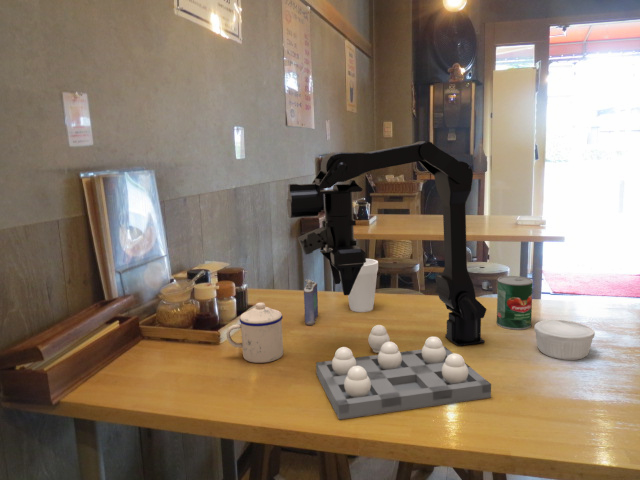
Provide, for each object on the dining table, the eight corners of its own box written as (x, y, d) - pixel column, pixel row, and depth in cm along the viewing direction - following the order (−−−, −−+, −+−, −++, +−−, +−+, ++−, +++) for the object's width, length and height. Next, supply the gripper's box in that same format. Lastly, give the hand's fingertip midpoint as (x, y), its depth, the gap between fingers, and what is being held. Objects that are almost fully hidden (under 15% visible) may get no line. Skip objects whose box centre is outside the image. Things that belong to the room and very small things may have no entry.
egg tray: (316, 374, 102) (315, 341, 101) (444, 358, 108) (445, 327, 106) (339, 419, 85) (337, 380, 84) (490, 397, 90) (491, 360, 89)
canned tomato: (519, 332, 121) (521, 286, 119) (489, 324, 127) (490, 280, 125) (537, 324, 125) (539, 279, 124) (508, 316, 132) (509, 274, 130)
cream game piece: (385, 345, 116) (385, 320, 115) (392, 353, 111) (392, 327, 110) (365, 347, 115) (365, 323, 114) (372, 355, 110) (371, 329, 109)
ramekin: (600, 350, 109) (601, 325, 108) (583, 367, 101) (584, 341, 100) (545, 338, 116) (546, 315, 116) (525, 353, 108) (526, 329, 108)
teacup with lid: (283, 346, 118) (280, 296, 116) (285, 362, 109) (282, 308, 107) (229, 350, 117) (226, 299, 115) (227, 366, 108) (223, 312, 106)
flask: (314, 326, 130) (312, 284, 129) (302, 325, 131) (300, 284, 129) (319, 314, 139) (317, 275, 138) (308, 314, 140) (306, 275, 138)
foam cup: (355, 316, 137) (354, 267, 135) (338, 307, 145) (336, 261, 143) (385, 309, 141) (384, 262, 139) (367, 301, 149) (366, 257, 147)
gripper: (293, 212, 114) (297, 281, 117) (306, 223, 96) (310, 305, 99) (343, 209, 116) (346, 277, 119) (365, 219, 98) (367, 300, 100)
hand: (341, 289), depth 109 cm, fingers open, 9 cm apart
